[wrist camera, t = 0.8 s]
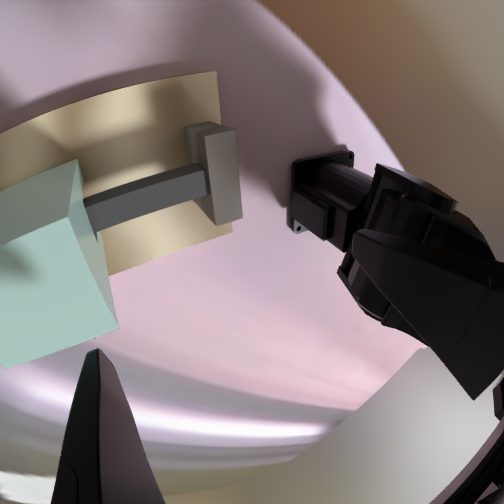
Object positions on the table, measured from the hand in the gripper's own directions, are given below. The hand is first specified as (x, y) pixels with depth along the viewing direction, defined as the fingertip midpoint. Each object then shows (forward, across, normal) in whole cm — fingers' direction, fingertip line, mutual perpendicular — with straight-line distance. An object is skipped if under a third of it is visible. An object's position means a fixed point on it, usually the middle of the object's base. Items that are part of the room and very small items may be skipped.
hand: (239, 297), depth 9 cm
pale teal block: (+10, +7, -1) cm, 13 cm away
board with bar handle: (+12, +11, -1) cm, 16 cm away
